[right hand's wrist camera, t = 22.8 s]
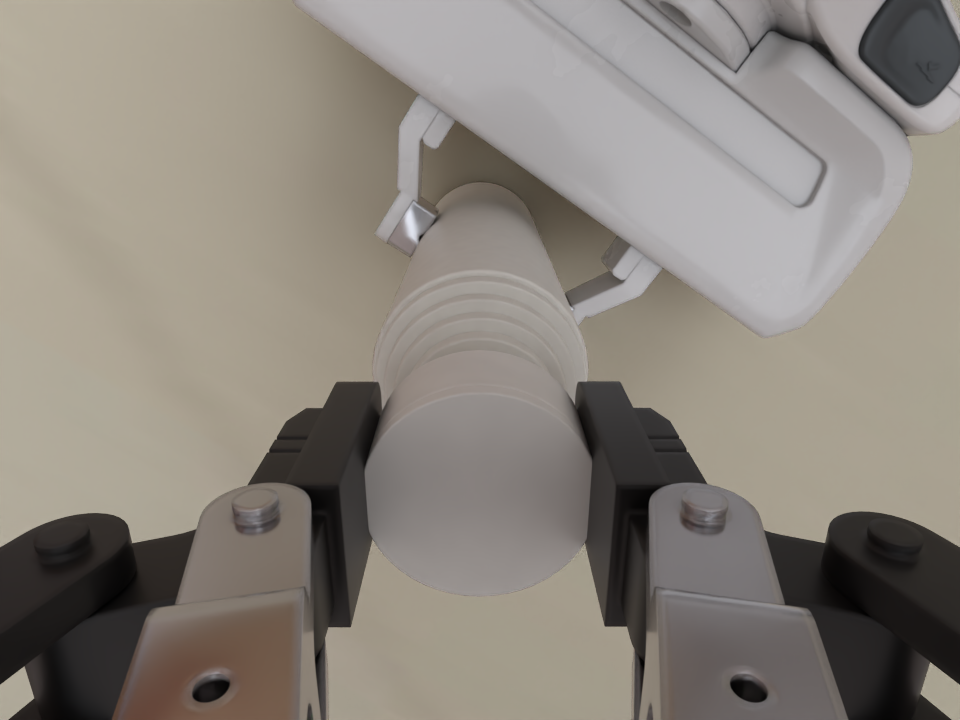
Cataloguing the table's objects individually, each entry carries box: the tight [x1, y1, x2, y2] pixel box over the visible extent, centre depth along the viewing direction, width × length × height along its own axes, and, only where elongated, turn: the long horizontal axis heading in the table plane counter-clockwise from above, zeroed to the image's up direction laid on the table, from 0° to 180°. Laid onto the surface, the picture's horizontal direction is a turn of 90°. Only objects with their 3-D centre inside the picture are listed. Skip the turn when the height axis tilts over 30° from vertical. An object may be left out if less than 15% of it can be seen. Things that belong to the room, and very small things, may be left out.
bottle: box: [373, 182, 588, 410], centre depth 20 cm, size 5×5×20 cm
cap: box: [364, 350, 592, 596], centre depth 11 cm, size 4×4×2 cm
